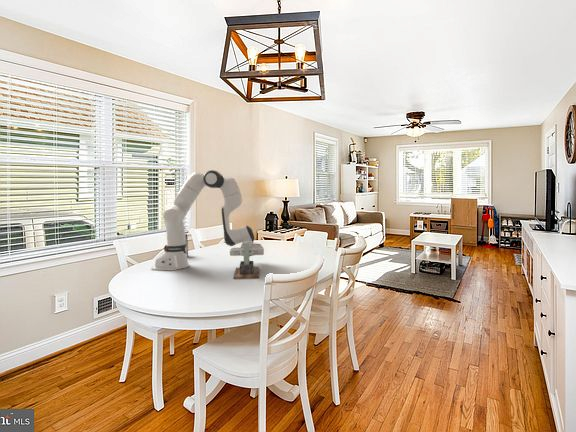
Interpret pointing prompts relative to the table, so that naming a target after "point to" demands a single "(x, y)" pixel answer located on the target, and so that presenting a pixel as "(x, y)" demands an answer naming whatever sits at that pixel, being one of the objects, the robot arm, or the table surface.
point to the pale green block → (246, 253)
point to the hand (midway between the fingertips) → (246, 254)
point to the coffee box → (186, 243)
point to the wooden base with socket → (246, 271)
